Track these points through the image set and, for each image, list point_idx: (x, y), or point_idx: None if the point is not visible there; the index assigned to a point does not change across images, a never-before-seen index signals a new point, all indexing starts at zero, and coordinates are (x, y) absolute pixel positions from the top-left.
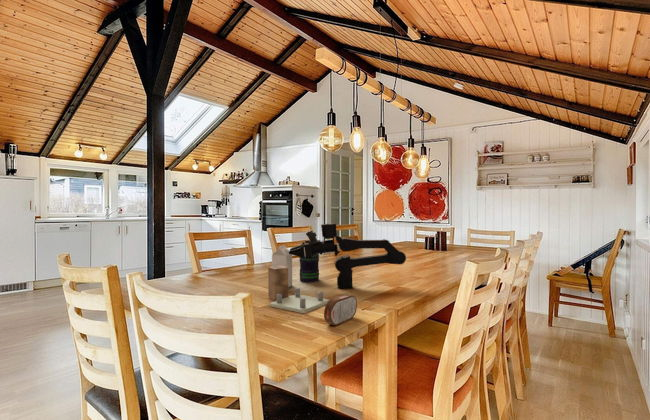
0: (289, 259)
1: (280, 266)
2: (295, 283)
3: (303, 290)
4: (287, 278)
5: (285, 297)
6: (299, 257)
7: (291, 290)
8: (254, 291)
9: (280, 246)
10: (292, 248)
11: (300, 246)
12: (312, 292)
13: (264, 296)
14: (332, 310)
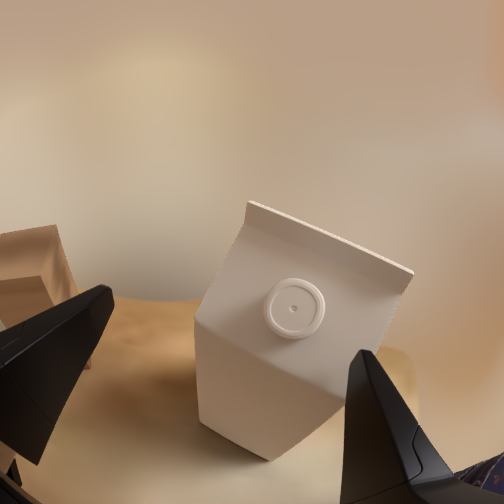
0: (260, 388)
1: (23, 264)
2: (317, 479)
3: (135, 484)
4: (3, 318)
5: None
6: (467, 468)
7: (157, 434)
8: (200, 300)
9: (277, 219)
10: (364, 375)
11: (392, 485)
12: (81, 500)
13: (111, 314)
14: None
